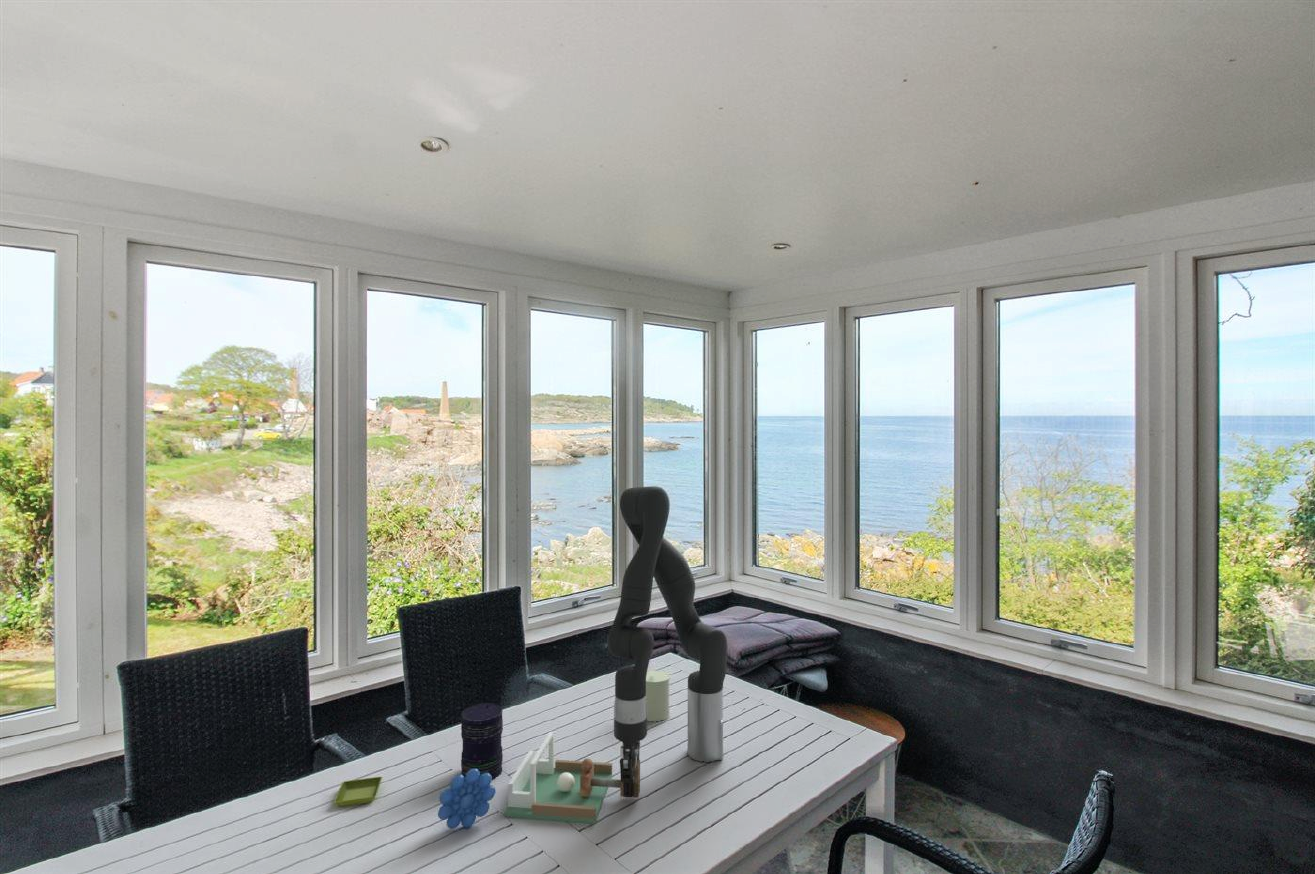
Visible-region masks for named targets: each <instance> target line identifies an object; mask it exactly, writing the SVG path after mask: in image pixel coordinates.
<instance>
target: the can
mask: <svg viewBox="0 0 1315 874" xmlns="http://www.w3.org/2000/svg"><path fill="white" fill-rule="evenodd" d="M670 677H671V676H670V674H669V673H668V672H666V671H661V670H647V675H646V701H647V722H651V721H653V722H656V721H658V722H662V721H661V720H663V721H665V719H666V720H667V719H669V718H670V714H671V713H670ZM653 722H652V723H653Z"/></svg>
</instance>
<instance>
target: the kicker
mask: <svg viewBox="0 0 1315 874" xmlns="http://www.w3.org/2000/svg"><path fill="white" fill-rule="evenodd" d="M582 761H583V762H582V769H583V771H582V774H581V776H580V796H584V797H589V796H590V793H591V791H592V788H593V786H600V787H608V788H619V789H620V797H623V798H625V797H624V795H623V782H621V779H616V778H615V779H613V778H611V779H601V778H594V765H593V762H594V761H593V760H592V759H591V758H585V759H582ZM632 765H634V763H632ZM640 792H641V759H639V760H638V759H637V767H636V769H635V770H634V795H633V797H632V798H635V799H636V798H637V799H638V798H639V796H640Z"/></svg>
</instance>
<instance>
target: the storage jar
mask: <svg viewBox="0 0 1315 874" xmlns="http://www.w3.org/2000/svg"><path fill="white" fill-rule="evenodd" d="M503 723H504V721H503V707H502V706H501V705H499V704H495V703H492V702H491V703H487V702H486V703H478V704H473V705H470V706H468V707H467V708H465V709H464V710H463V711H461V726H460V729H461V733H460V734H461V735H460V736H461V739H462V751H461V755H460V756H461V760H460V764H461V765H460V766H461V775H463V776H464V777H466V774H467V772H468V771H469V770H471V769H474V768H475V769H478V770H479V772H480V776H481V775H482V774H484V773H489V774H490V775H491V776H492V781H494V780H496V779H497V778H498V776H499V775H500V776H501V775H502V772H503V756H504V755H503V746H502V734H503V729H504V728H503ZM480 776H479V777H480ZM500 776H499V777H500ZM496 777H497V778H496ZM495 778H496V779H495ZM493 779H494V780H493Z"/></svg>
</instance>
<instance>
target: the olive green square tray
mask: <svg viewBox="0 0 1315 874" xmlns="http://www.w3.org/2000/svg"><path fill="white" fill-rule="evenodd" d="M382 780H383V776H373V777H366V778H360V779H352V780H351V779H350V780H345V781H342V782H341V784H340V786H339V789H338V791H337V793H336V796H335V798H334V801H333V803H334V804H335V805H336V806H338V807H346V806H347V807H348V806H355V805H361V804H368V803H372V802H373V801H375V799H376V797H377V794H378V791H379V789H380V785H381V783H382Z"/></svg>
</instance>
